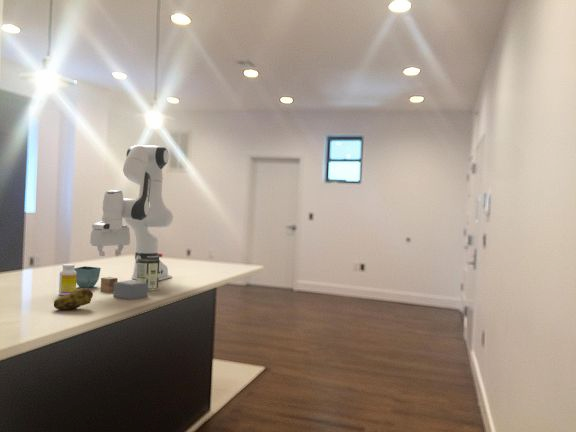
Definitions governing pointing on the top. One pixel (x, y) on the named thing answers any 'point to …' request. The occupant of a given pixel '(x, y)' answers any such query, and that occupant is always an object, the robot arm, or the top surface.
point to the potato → (74, 299)
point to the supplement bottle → (67, 279)
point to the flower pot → (87, 276)
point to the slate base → (130, 289)
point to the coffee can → (148, 272)
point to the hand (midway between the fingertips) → (110, 255)
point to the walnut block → (108, 284)
